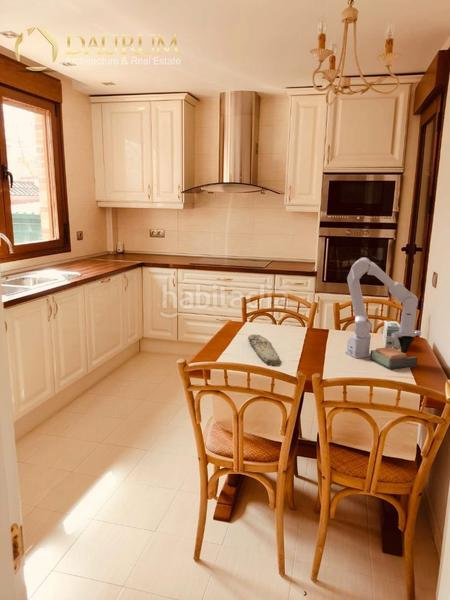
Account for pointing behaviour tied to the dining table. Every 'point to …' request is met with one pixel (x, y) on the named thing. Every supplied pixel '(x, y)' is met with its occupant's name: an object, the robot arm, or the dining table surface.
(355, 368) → the dining table surface
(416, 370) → the dining table surface
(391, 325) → the light bulb box
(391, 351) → the slab
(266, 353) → the elongated rock
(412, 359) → the roller bed
